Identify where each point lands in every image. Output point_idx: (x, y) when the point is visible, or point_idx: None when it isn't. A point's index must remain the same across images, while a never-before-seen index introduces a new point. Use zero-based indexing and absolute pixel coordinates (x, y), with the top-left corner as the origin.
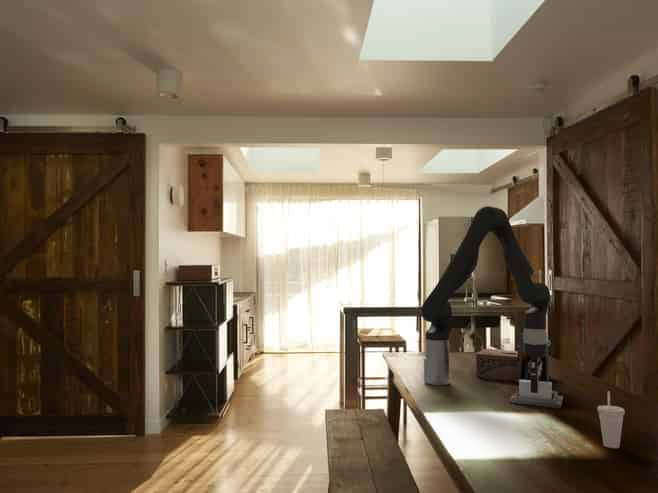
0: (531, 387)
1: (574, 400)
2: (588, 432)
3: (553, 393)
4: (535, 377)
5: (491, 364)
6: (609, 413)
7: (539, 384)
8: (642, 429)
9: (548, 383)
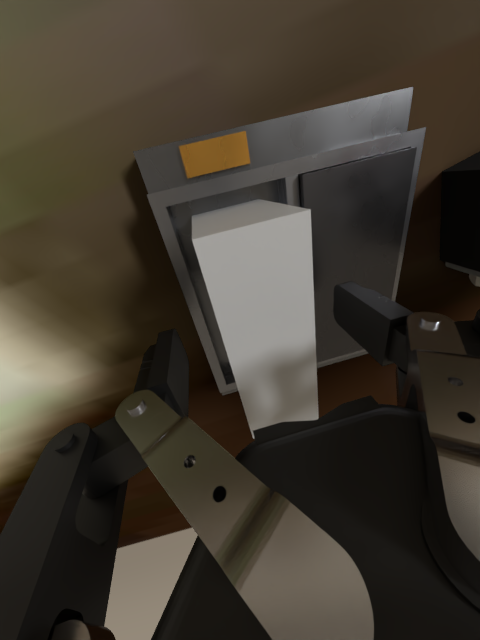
0: (158, 354)
1: (366, 371)
2: (6, 510)
3: (330, 354)
4: (86, 495)
5: None
6: None
7: (237, 385)
8: (157, 529)
9: (269, 423)
